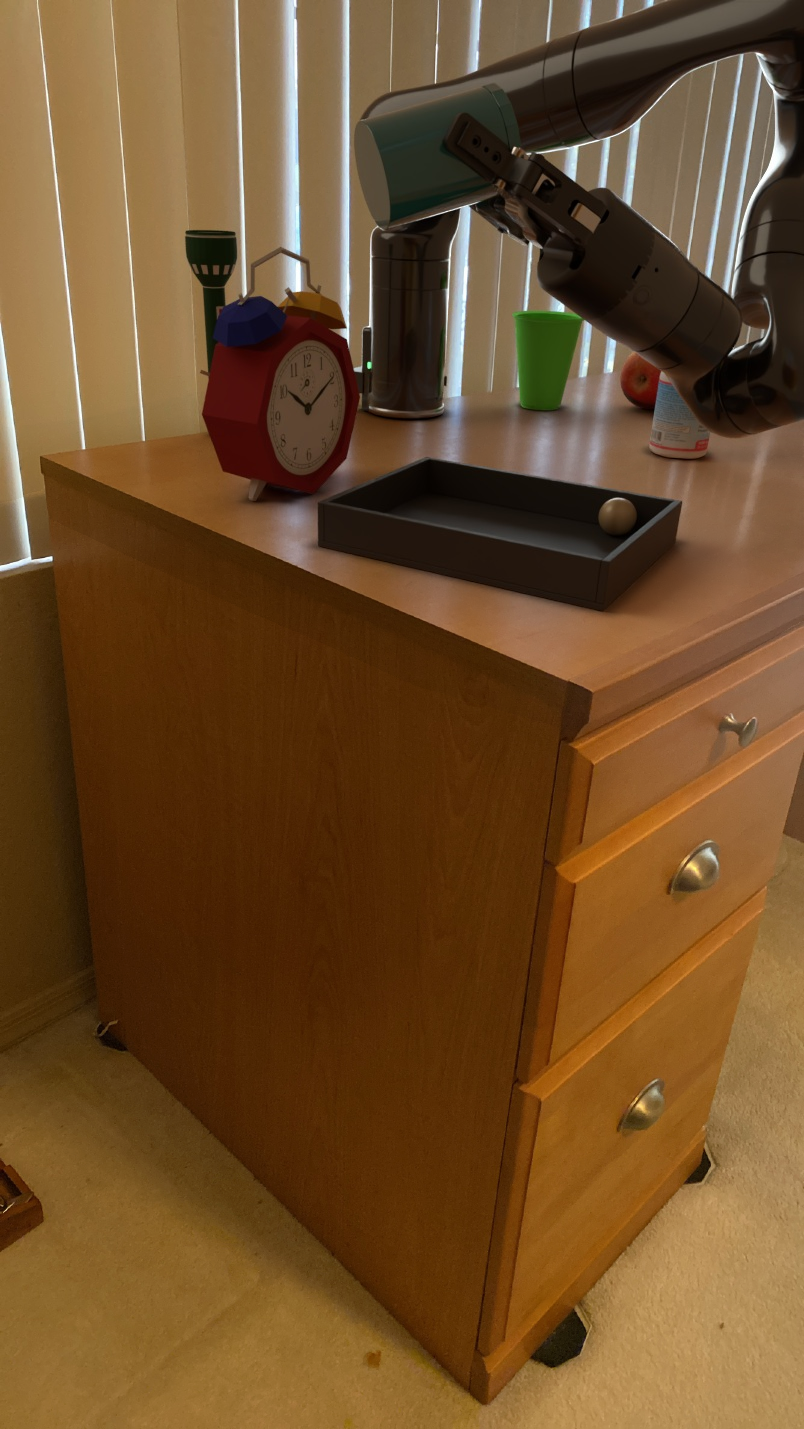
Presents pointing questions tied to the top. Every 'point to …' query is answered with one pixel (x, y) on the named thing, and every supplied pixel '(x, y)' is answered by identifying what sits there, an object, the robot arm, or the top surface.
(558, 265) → the robot arm
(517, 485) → the tray
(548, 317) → the cup
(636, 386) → the apple
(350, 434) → the alarm clock
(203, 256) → the flashlight
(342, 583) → the top surface
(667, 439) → the pill bottle
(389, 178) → the pour cup
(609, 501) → the ball
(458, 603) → the top surface
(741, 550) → the top surface
